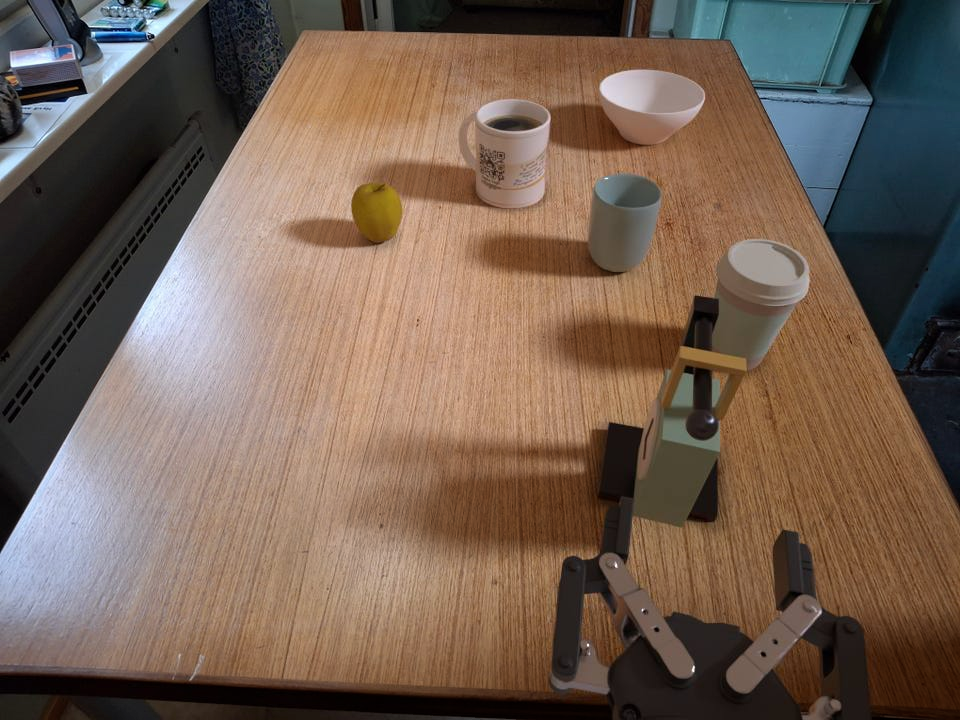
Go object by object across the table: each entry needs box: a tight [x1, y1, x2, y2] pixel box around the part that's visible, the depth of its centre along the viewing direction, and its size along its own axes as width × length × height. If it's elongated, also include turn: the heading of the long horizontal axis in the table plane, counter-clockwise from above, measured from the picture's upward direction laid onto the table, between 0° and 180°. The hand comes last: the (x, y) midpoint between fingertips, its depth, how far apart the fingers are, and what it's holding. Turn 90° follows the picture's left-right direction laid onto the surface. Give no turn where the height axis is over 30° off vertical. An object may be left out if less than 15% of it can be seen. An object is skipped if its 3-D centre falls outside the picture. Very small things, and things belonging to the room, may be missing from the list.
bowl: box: [598, 69, 706, 146], centre depth 105 cm, size 16×16×7 cm
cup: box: [587, 173, 663, 273], centre depth 80 cm, size 8×8×10 cm
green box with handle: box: [633, 345, 748, 528], centre depth 50 cm, size 5×7×15 cm, turn 166°
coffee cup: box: [712, 238, 811, 371], centre depth 68 cm, size 8×8×12 cm
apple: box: [350, 182, 403, 244], centre depth 84 cm, size 6×6×8 cm
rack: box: [597, 294, 719, 523], centre depth 52 cm, size 10×14×18 cm
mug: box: [457, 98, 552, 209], centre depth 92 cm, size 10×12×11 cm
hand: (703, 520), depth 37 cm, fingers open, 8 cm apart
